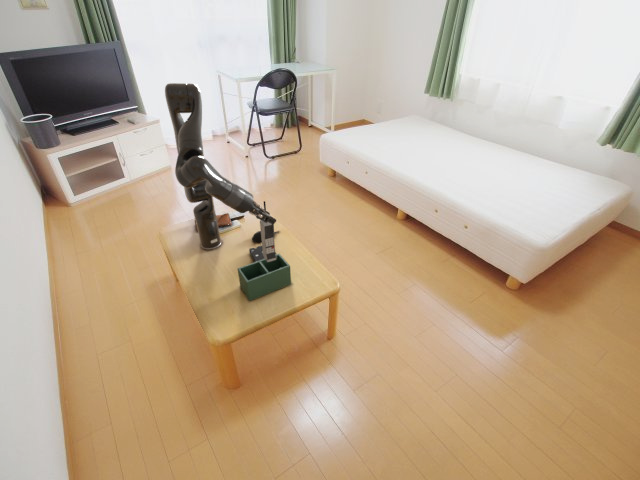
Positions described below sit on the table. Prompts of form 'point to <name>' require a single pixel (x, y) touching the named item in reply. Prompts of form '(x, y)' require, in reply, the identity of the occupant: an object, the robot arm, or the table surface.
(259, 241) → the gaming mouse
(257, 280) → the caddy
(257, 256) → the disk drive
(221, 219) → the sunglasses case
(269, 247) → the vintage mobile phone
